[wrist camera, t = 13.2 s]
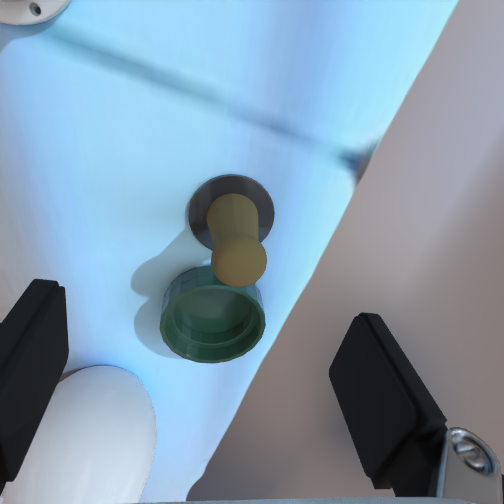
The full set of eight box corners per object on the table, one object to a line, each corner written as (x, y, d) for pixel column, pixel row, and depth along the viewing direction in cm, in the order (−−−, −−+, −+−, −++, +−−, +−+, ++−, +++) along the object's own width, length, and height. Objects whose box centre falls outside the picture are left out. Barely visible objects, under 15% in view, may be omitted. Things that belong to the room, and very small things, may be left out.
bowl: (159, 335, 48) (155, 360, 45) (169, 258, 42) (165, 279, 38) (249, 342, 51) (252, 366, 47) (270, 270, 45) (276, 291, 41)
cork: (249, 244, 42) (262, 302, 32) (201, 234, 40) (199, 291, 31) (265, 200, 39) (283, 249, 30) (213, 187, 37) (215, 234, 28)
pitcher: (176, 363, 52) (151, 632, 28) (145, 428, 59) (104, 683, 35) (-1, 326, 44) (-236, 646, 21) (-12, 405, 52) (-195, 707, 28)
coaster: (183, 246, 41) (183, 248, 41) (194, 166, 37) (194, 168, 36) (262, 256, 44) (263, 258, 43) (283, 182, 39) (284, 184, 38)
